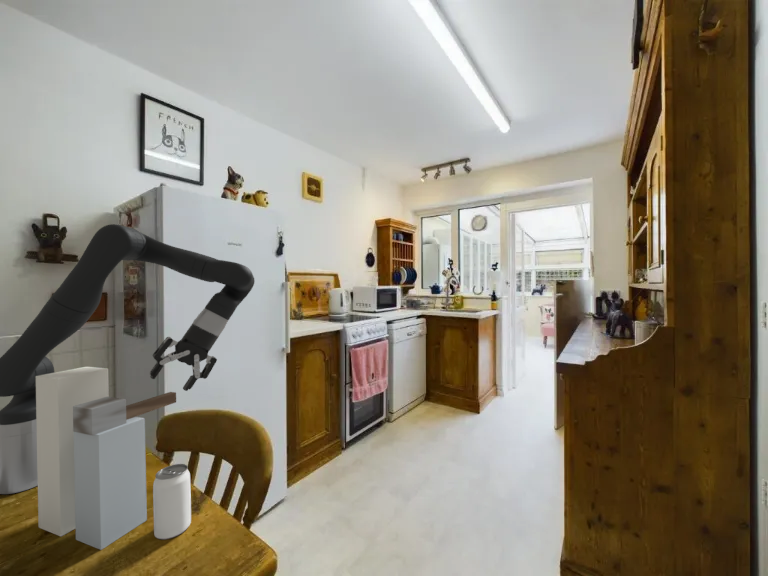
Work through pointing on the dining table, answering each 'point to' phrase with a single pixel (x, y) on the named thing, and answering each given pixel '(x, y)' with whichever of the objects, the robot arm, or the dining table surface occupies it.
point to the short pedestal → (110, 483)
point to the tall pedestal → (61, 441)
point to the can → (171, 501)
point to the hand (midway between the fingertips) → (168, 384)
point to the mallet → (113, 412)
